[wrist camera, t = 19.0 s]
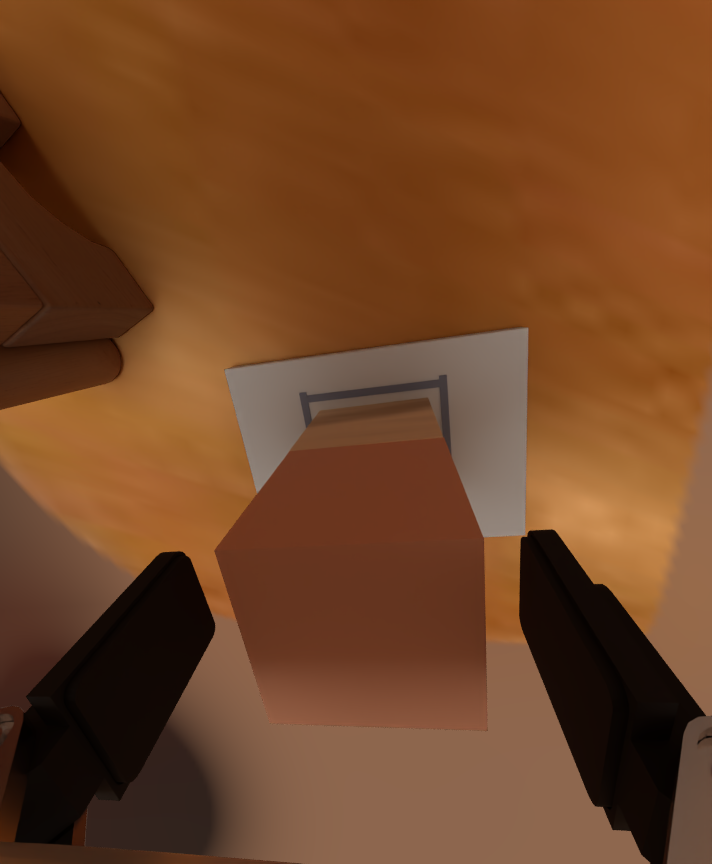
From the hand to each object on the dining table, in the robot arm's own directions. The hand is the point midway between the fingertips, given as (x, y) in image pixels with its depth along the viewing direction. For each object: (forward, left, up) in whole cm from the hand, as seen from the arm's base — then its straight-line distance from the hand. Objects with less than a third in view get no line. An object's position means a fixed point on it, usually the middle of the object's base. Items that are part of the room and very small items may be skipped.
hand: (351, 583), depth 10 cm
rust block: (+1, 0, -5) cm, 5 cm away
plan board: (+1, 0, -12) cm, 12 cm away
